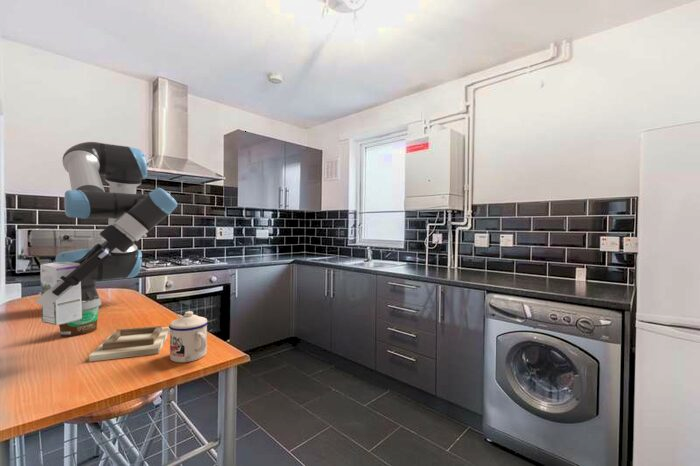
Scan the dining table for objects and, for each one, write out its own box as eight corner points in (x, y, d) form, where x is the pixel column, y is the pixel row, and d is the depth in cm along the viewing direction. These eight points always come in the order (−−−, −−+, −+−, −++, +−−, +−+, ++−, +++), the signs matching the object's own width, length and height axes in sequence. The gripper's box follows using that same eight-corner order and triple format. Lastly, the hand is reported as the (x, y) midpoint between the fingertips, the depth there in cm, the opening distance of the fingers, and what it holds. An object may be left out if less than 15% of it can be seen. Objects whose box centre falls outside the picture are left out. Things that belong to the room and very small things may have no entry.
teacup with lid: (162, 357, 82) (162, 312, 82) (196, 346, 90) (196, 305, 89) (186, 370, 76) (186, 321, 75) (221, 357, 83) (221, 313, 83)
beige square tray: (113, 336, 96) (113, 326, 96) (170, 331, 101) (170, 322, 101) (89, 361, 79) (89, 349, 79) (158, 353, 84) (158, 342, 84)
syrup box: (83, 318, 81) (82, 262, 80) (55, 326, 75) (54, 265, 75) (68, 316, 83) (67, 260, 82) (40, 323, 77) (39, 263, 77)
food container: (71, 340, 92) (71, 306, 92) (55, 338, 94) (54, 304, 93) (111, 326, 104) (111, 296, 104) (96, 325, 106) (96, 295, 105)
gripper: (141, 245, 80) (55, 320, 71) (130, 239, 96) (59, 300, 86) (115, 224, 77) (20, 300, 67) (108, 222, 92) (31, 283, 82)
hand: (42, 300), depth 77 cm, fingers closed on syrup box, 8 cm apart
